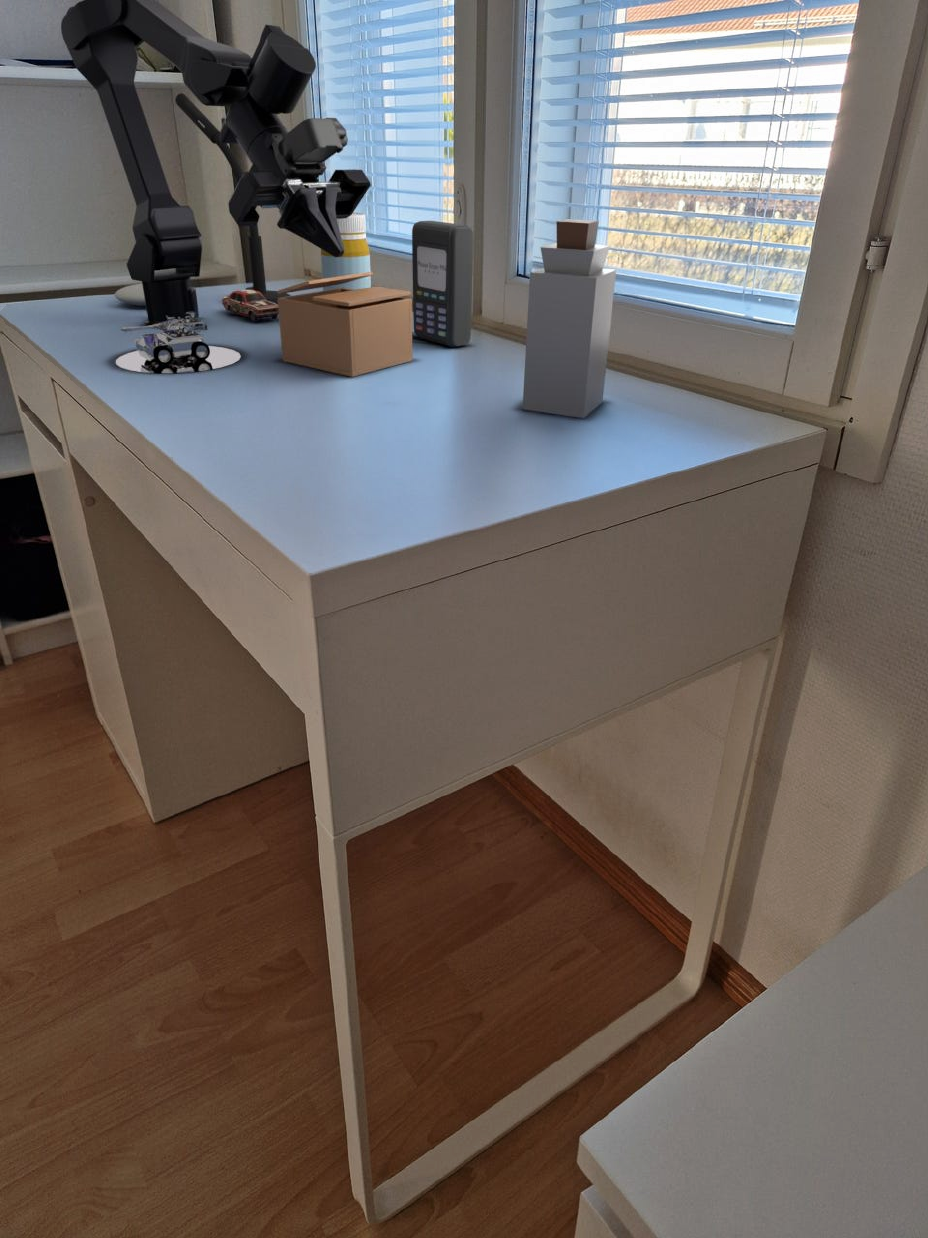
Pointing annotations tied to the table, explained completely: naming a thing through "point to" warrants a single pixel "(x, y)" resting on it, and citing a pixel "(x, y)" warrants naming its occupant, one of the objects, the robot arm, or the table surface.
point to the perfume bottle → (569, 323)
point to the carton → (347, 329)
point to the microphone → (214, 137)
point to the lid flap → (324, 282)
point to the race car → (250, 305)
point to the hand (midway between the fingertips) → (340, 254)
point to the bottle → (349, 254)
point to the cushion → (131, 295)
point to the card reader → (442, 282)
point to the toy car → (175, 349)
